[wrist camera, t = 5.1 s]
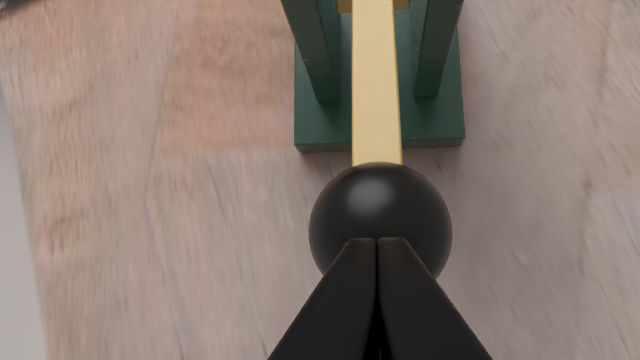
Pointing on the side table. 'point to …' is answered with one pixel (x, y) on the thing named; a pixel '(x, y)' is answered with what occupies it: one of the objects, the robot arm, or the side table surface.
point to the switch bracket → (412, 64)
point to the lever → (378, 157)
